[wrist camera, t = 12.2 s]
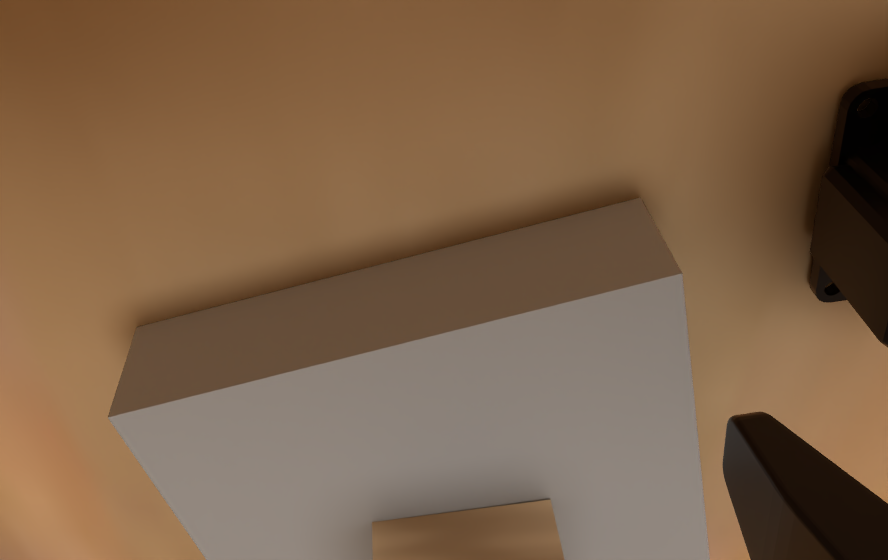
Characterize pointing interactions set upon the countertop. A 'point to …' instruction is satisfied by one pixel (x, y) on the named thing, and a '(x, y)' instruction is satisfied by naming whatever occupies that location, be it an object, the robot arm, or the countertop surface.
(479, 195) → the countertop surface
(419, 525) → the beech block
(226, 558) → the grey riser
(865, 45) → the countertop surface
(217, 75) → the countertop surface
